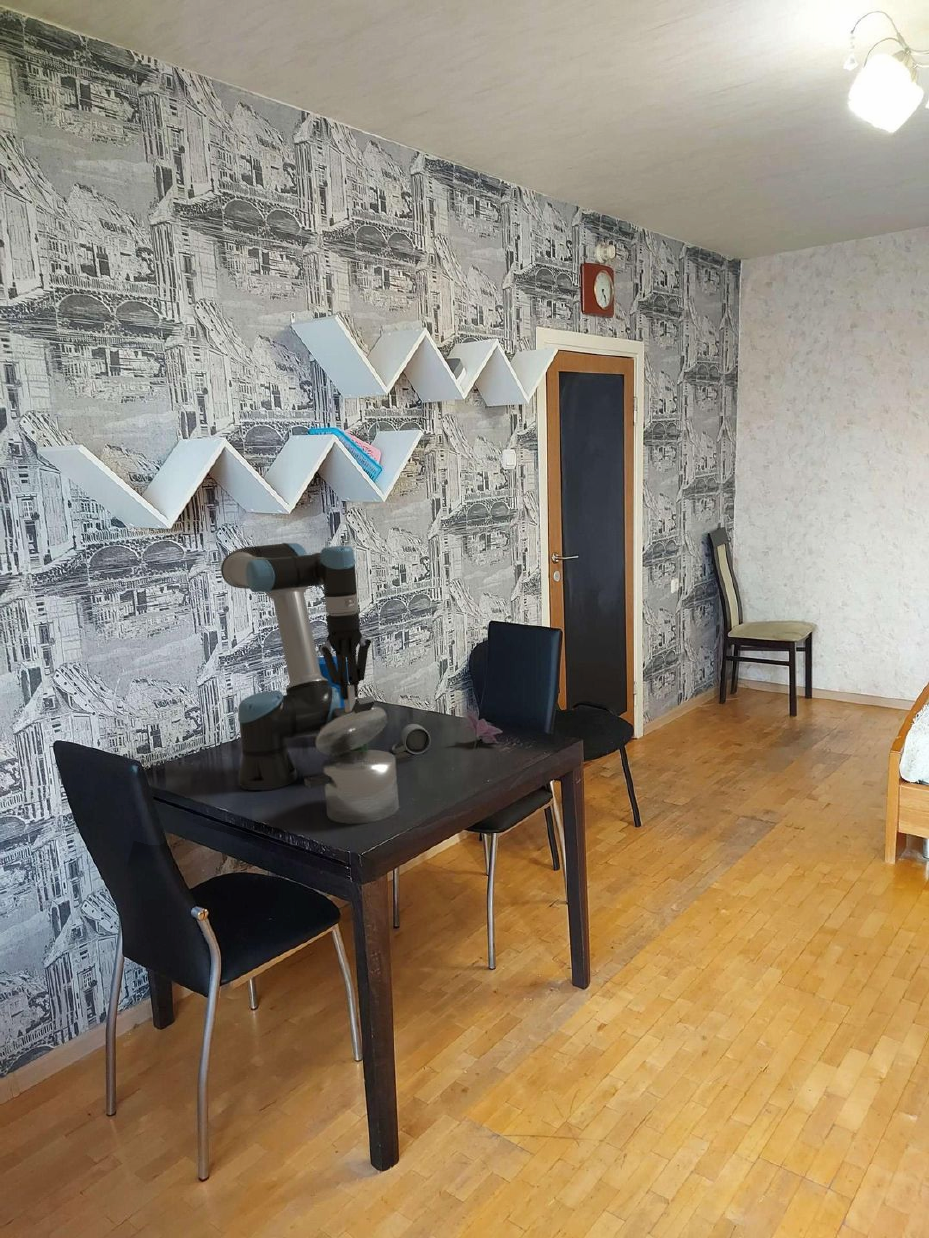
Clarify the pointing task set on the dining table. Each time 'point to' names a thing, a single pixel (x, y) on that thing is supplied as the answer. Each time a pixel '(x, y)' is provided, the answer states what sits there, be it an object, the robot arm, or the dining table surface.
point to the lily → (482, 728)
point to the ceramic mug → (413, 740)
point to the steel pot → (360, 785)
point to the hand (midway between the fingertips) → (350, 711)
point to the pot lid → (352, 728)
